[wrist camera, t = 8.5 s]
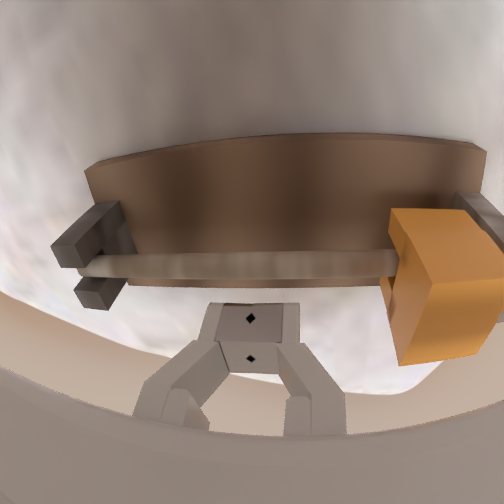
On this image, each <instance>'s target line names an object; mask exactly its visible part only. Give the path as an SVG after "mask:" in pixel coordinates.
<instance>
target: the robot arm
mask: <svg viewBox="0 0 504 504" xmlns="http://www.w3.org/2000/svg"><path fill="white" fill-rule="evenodd" d="M229 372H231V373H262V374H279V376H280V378H281V380H282V381H283V383H284V385H285V386H286V388H287V390H288V391H289V393H290V395H291V397H290V398H289V399H287V400H286V409H285V421H284V422H285V423H284V433H283V436H264V435H248V434H236V433H235V434H234V433H225V432H216V431H209V424H210V422H209V421H208V419H207V418H206V416H205V415H204V414H203V412H202V411H201V409H200V407H201V406H202V405H203V404H204V403H205V402H206V401H207V399H208V398H209V397H210V396H211V395H212V394H213V393H214V391H215V390H216V389H217V388H218V387H219V386H220V385H221V383H222V382H223V381H224V380H225V379H226V377H227V376H228V375H229ZM0 504H504V400H502V401H499V402H496V403H494V404H491V405H488V406H485V407H482V408H479V409H476V410H473V411H469V412H466V413H462V414H459V415H455V416H452V417H448V418H444V419H440V420H436V421H431V422H427V423H422V424H417V425H412V426H407V427H401V428H396V429H388V430H382V431H374V432H365V433H357V434H356V433H355V434H347V432H346V409H345V394H344V393H343V391H342V390H341V389H340V388H339V386H338V385H337V384H336V382H335V381H334V380H333V379H332V377H331V376H330V375H329V374H328V372H327V371H326V370H325V369H324V367H323V366H322V365H321V364H320V362H319V361H318V360H317V359H316V357H315V356H314V355H313V353H312V352H311V351H310V350H309V348H308V347H307V346H306V345H305V343H300V304H299V303H255V304H242V303H210V304H209V305H208V307H207V310H206V314H205V317H204V320H203V323H202V327H201V330H200V334H199V337H198V340H193V341H192V342H191V343H189V344H188V345H187V346H186V347H185V348H184V349H183V350H181V351H180V352H179V353H178V354H177V355H176V356H174V357H173V358H172V359H171V360H170V361H168V362H167V363H166V364H165V365H164V366H163V367H161V368H160V369H159V370H158V371H157V372H156V373H154V374H153V375H152V376H151V377H149V378H148V379H147V380H146V381H145V382H144V384H143V387H142V389H141V392H140V395H139V398H138V401H137V403H136V406H135V409H134V412H133V415H132V416H131V415H127V414H124V413H120V412H116V411H113V410H109V409H106V408H103V407H100V406H96V405H93V404H90V403H87V402H84V401H82V400H78V399H76V398H73V397H70V396H68V395H65V394H63V393H60V392H57V391H55V390H53V389H50V388H48V387H45V386H43V385H41V384H38V383H36V382H34V381H31V380H30V379H27V378H25V377H23V376H21V375H19V374H17V373H15V372H13V371H11V370H9V369H7V368H5V367H3V366H1V365H0Z"/></svg>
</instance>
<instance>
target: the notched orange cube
mask: <svg viewBox="0 0 504 504" xmlns="http://www.w3.org/2000/svg"><path fill="white" fill-rule="evenodd" d="M388 233H389V235H390V237H391V239H392V242H393V244H394V246H395V248H396V251H397V253H398V255H399V257H400V261H399V265H398V270H397V274H396V276H392V277H380V281H379V284H380V287H381V291H382V294H383V298H384V301H385V305H386V309H387V316H388V320H389V324H390V328H391V332H392V337H393V341H394V346H395V350H396V355H397V360H398V365H399V366H406V365H414V364H422V363H429V362H436V361H442V360H447V359H454V358H459V357H465V356H470V355H475V354H477V352H478V351H479V349H480V347H481V346H482V345H483V343H484V342H485V340H486V339H487V337H488V335H489V334H490V332H491V330H492V329H493V327H494V325H495V324H496V322H497V320H498V319H499V317H500V315H501V313H502V311H503V310H504V254H503V252H502V251H501V250H500V249H499V247H498V246H497V245H496V243H495V242H494V241H493V240H492V238H491V237H490V236H489V235H488V234H487V232H486V231H483V230H482V229H481V228H480V227H479V226H478V224H477V223H476V222H475V221H474V220H473V219H472V218H471V216H470V215H469V214H468V213H467V212H466V211H465V210H455V209H419V208H391V213H390V221H389V228H388Z"/></svg>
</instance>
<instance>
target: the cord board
mask: <svg viewBox="0 0 504 504" xmlns="http://www.w3.org/2000/svg"><path fill="white" fill-rule="evenodd" d="M486 154H487V151H485V150H483V149H482V148H480V147H478V146H477V145H475V144H473V143H466V142H460V141H452V140H445V139H436V138H427V137H416V136H404V135H389V134H367V133H305V134H282V135H266V136H253V137H242V138H232V139H223V140H215V141H207V142H199V143H192V144H185V145H179V146H173V147H167V148H161V149H156V150H150V151H145V152H140V153H135V154H130V155H126V156H121V157H117V158H112V159H108V160H104V161H100V162H97V163H95V164H94V165H92V166H91V167H89V168H87V169H86V170H84V172H85V175H86V178H87V181H88V184H89V188H90V190H91V193H92V196H93V199H94V202H95V204H94V205H93V206H92V207H91V208H90V209H89V210H88V211H87V212H85V213H84V214H83V215H82V216H81V217H80V218H79V219H78V220H77V221H76V222H75V223H74V224H73V225H71V226H70V227H69V228H68V229H67V230H66V231H65V232H64V233H63V234H62V235H61V236H60V237H59V238H58V239H57V240H56V241H55V242H54V243H53V244H52V245H51V246H50V247H51V249H52V251H53V253H54V255H55V257H56V259H57V261H58V263H59V265H60V267H61V268H77V270H78V273H79V274H80V275H81V276H83V278H82V279H81V281H80V282H79V283H78V285H77V286H76V287H75V289H74V292H75V294H76V295H77V297H78V299H79V301H80V302H81V304H82V306H83V307H84V308H90V309H98V310H107V311H108V310H109V309H110V307H111V305H112V304H113V302H114V301H115V299H116V297H117V296H118V294H119V293H120V291H121V289H122V288H123V286H124V285H125V283H126V282H127V283H128V285H132V286H159V287H200V288H314V287H354V286H380V284H379V281H380V277H392V276H396V274H397V270H398V265H399V261H400V257H399V255H398V253H397V251H396V248H395V246H394V244H393V242H392V239H391V237H390V235H389V233H388V228H389V221H390V213H391V208H419V209H455V210H465V211H466V212H467V213H468V214H469V215H470V216H471V218H472V219H473V220H474V221H475V222H476V223H477V224H478V226H479V227H480V228H481V229H482V230H483V231H486V232H487V234H488V235H489V236H490V237H491V238H492V240H493V241H494V242H495V243H496V245H497V246H498V247H499V249H500V250H501V251H502V252H503V254H504V216H503V215H502V214H501V213H500V212H499V211H498V210H497V209H496V208H495V207H494V206H493V205H492V204H491V203H490V202H489V201H488V200H487V199H486V198H485V197H484V196H483V195H482V194H480V190H481V185H482V179H483V174H484V168H485V161H486ZM500 322H504V310H503V311H502V313H501V315H500V317H499V319H498V320H497V322H496V323H500Z"/></svg>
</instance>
